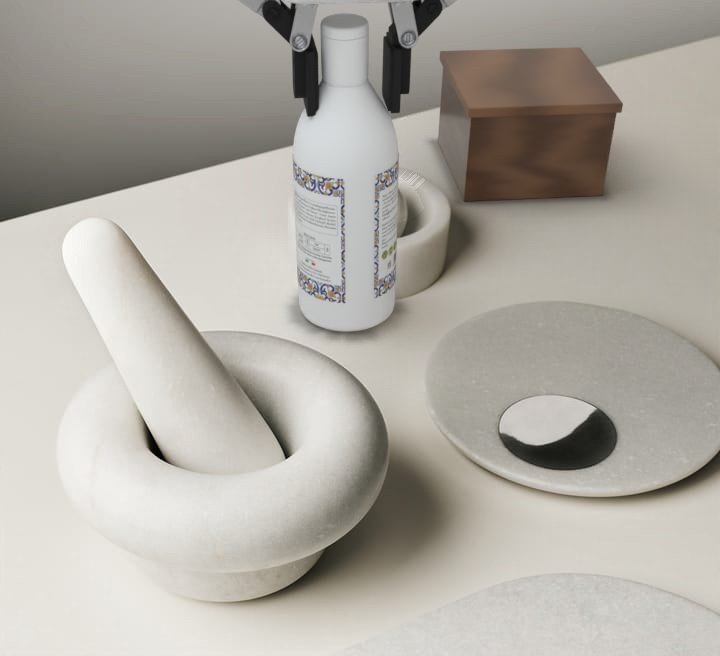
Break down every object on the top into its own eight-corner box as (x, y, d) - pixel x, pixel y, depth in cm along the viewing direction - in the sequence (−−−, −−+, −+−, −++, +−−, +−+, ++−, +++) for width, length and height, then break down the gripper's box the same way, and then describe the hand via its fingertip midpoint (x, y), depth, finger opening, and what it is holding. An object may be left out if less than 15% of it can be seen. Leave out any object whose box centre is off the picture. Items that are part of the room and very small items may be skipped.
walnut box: (567, 135, 106) (580, 46, 101) (606, 197, 97) (623, 103, 92) (433, 140, 105) (439, 50, 100) (460, 203, 96) (469, 108, 90)
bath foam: (380, 278, 86) (384, -3, 72) (406, 327, 81) (416, 35, 68) (289, 290, 85) (276, 6, 71) (311, 341, 80) (301, 46, 66)
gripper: (195, -220, 57) (220, 136, 70) (526, -223, 59) (493, 125, 71) (191, -246, 63) (215, 89, 75) (494, -248, 65) (469, 79, 77)
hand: (350, 103), depth 73 cm, fingers closed on bath foam, 4 cm apart
